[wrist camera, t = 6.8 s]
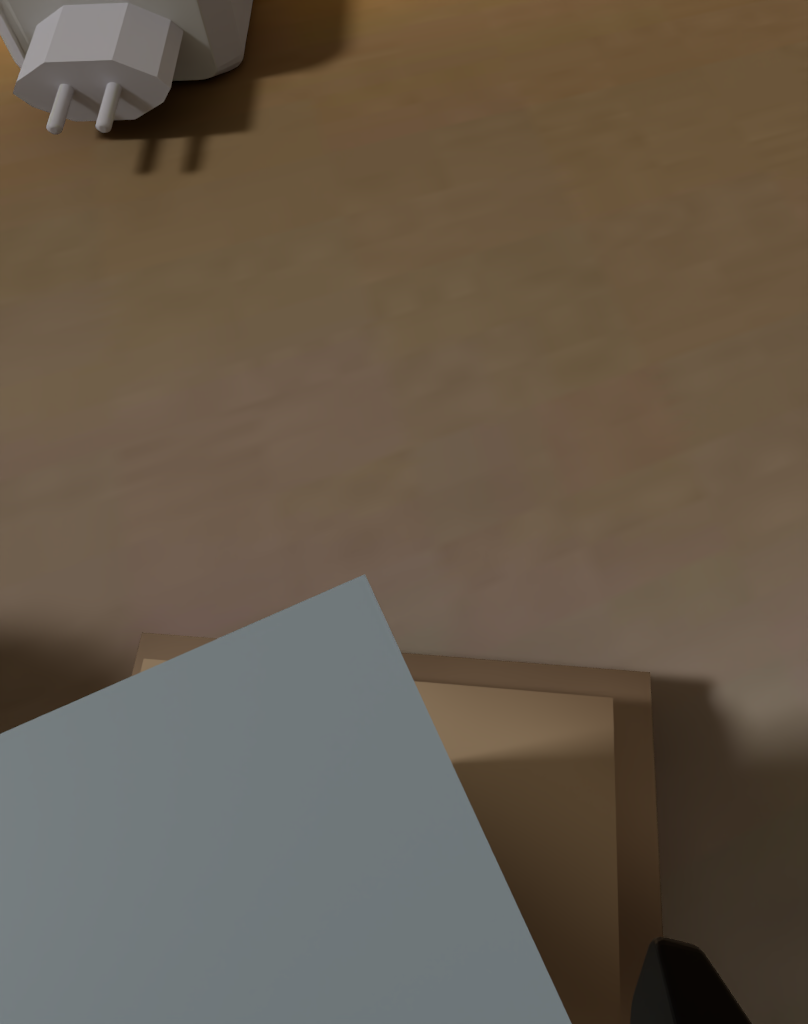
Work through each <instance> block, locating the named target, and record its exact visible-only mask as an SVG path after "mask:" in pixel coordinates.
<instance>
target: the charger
mask: <svg viewBox="0 0 808 1024" xmlns="http://www.w3.org/2000/svg"><path fill="white" fill-rule="evenodd" d="M252 3H253V0H0V35H1V37H2V39H3V41H4V43H5V44H6V46H7V48H8V50H9V52H10V54H11V56H12V58H13V59H14V61H15V63H16V64H17V65H18V66H19V67H20V68H21V71H20V73H19V76H18V79H17V82H16V85H15V88H14V91H13V94H15V95H16V96H17V97H19V98H20V99H22V100H23V101H25V102H26V103H28V104H29V105H31V106H32V107H35V108H38V109H41V110H44V111H46V112H49V113H50V117H49V120H48V123H47V126H46V128H47V130H48V131H49V132H51V133H52V134H60V133H61V132H62V130H63V127H64V124H65V120H66V118H67V119H69V120H72V121H96V125H95V126H96V128H97V130H99V131H100V132H102V133H107V132H109V131H110V130H111V128H112V124H113V120H135V119H137V118H138V117H140V116H142V115H143V114H145V113H147V112H148V111H150V110H151V109H153V108H155V107H156V106H158V105H160V104H161V103H163V102H164V100H165V98H166V96H167V94H168V92H169V90H170V88H171V84H172V81H182V80H202V79H207V78H210V77H213V76H216V75H219V74H222V73H225V72H228V71H230V70H232V69H234V68H236V67H237V66H239V64H240V63H241V62H242V60H243V56H244V50H245V45H246V39H247V33H248V27H249V21H250V15H251V9H252Z"/></svg>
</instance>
